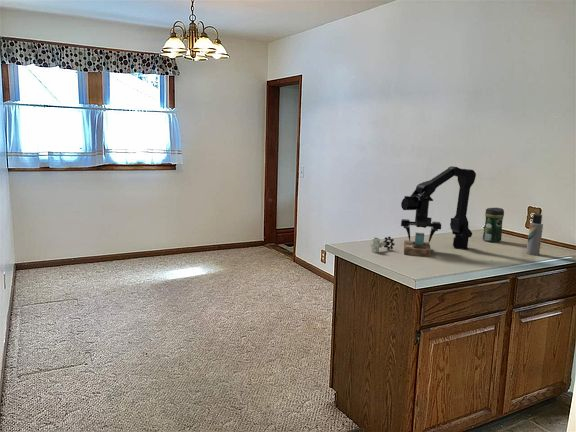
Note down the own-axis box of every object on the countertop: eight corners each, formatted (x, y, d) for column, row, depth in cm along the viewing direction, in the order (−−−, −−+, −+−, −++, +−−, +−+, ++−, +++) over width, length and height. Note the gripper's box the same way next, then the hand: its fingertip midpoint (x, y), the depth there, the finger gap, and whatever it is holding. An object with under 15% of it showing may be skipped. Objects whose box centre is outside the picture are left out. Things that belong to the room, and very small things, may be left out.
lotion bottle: (538, 253, 238) (543, 213, 235) (540, 255, 233) (545, 215, 230) (525, 251, 240) (530, 212, 237) (527, 254, 235) (532, 214, 231)
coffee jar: (491, 238, 270) (495, 206, 267) (503, 241, 263) (507, 208, 260) (479, 240, 265) (483, 206, 262) (491, 243, 258) (495, 209, 255)
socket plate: (428, 248, 238) (429, 242, 238) (430, 256, 221) (431, 250, 220) (403, 246, 241) (404, 239, 240) (403, 254, 224) (404, 247, 223)
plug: (422, 249, 236) (424, 233, 235) (422, 250, 233) (424, 234, 231) (414, 248, 237) (415, 232, 236) (414, 250, 234) (415, 233, 232)
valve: (377, 254, 222) (394, 251, 229) (378, 240, 221) (395, 237, 228) (366, 251, 227) (383, 248, 235) (367, 237, 226) (384, 235, 234)
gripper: (402, 210, 226) (399, 243, 229) (443, 214, 222) (440, 246, 225) (402, 207, 237) (399, 238, 239) (441, 210, 233) (438, 242, 235)
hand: (419, 241), depth 234 cm, fingers open, 9 cm apart
